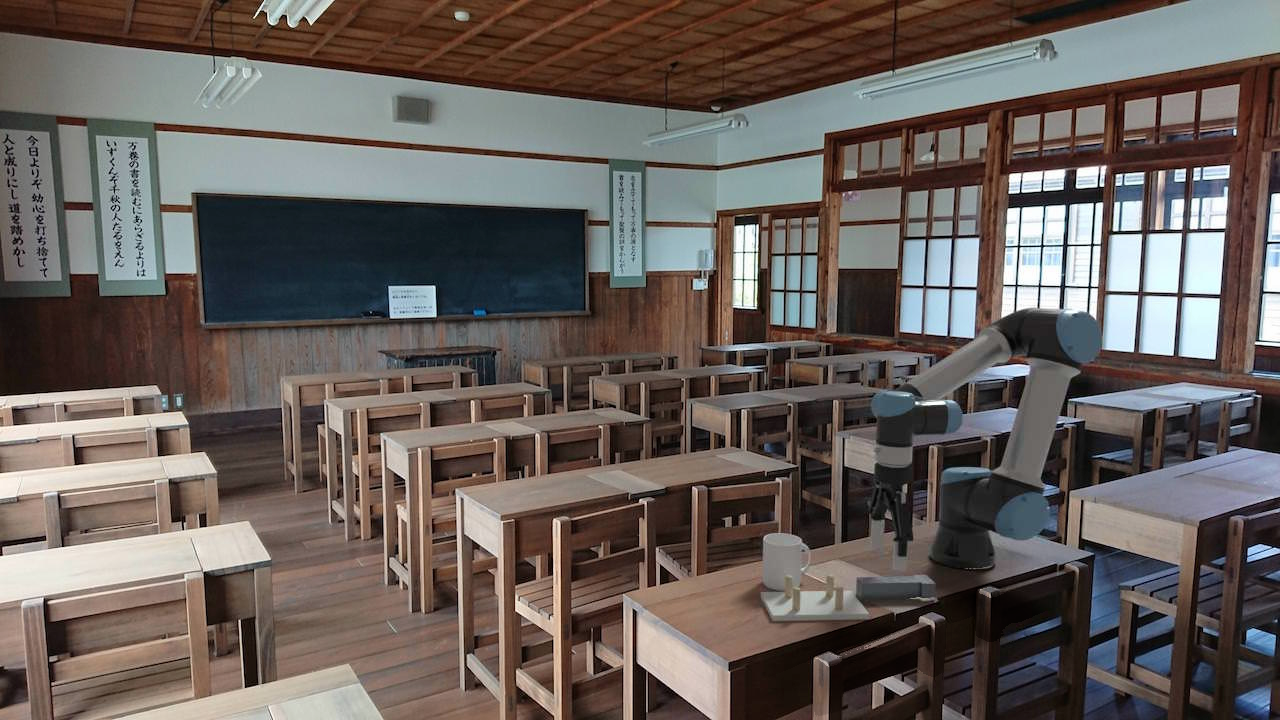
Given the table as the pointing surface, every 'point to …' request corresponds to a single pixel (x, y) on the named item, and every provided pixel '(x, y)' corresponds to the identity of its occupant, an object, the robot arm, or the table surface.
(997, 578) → the table surface
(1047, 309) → the robot arm
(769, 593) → the rack
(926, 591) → the grey bar
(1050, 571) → the table surface
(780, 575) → the mug
